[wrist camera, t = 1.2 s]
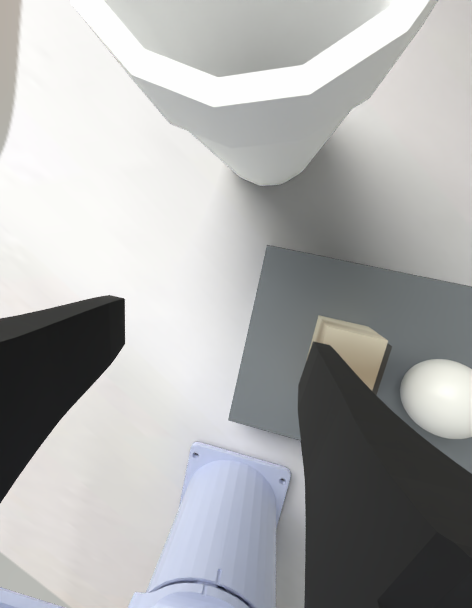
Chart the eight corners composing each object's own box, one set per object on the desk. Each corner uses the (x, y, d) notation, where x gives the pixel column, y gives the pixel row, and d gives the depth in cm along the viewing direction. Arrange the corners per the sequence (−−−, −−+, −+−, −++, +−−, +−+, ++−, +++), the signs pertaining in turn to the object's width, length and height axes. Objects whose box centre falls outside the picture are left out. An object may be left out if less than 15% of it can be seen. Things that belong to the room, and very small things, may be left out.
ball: (447, 419, 17) (499, 467, 13) (380, 402, 17) (410, 443, 13) (471, 358, 16) (533, 390, 12) (400, 342, 16) (438, 367, 13)
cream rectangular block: (352, 403, 17) (367, 431, 14) (298, 389, 18) (302, 414, 15) (375, 328, 17) (396, 342, 14) (318, 315, 17) (327, 326, 14)
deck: (527, 481, 19) (564, 514, 17) (233, 401, 21) (228, 420, 19) (605, 316, 17) (660, 325, 14) (268, 246, 19) (267, 244, 17)
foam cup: (346, 44, 17) (569, -645, 4) (344, 203, 18) (505, 69, 5) (195, 67, 18) (3, -384, 5) (204, 213, 20) (67, 126, 7)
